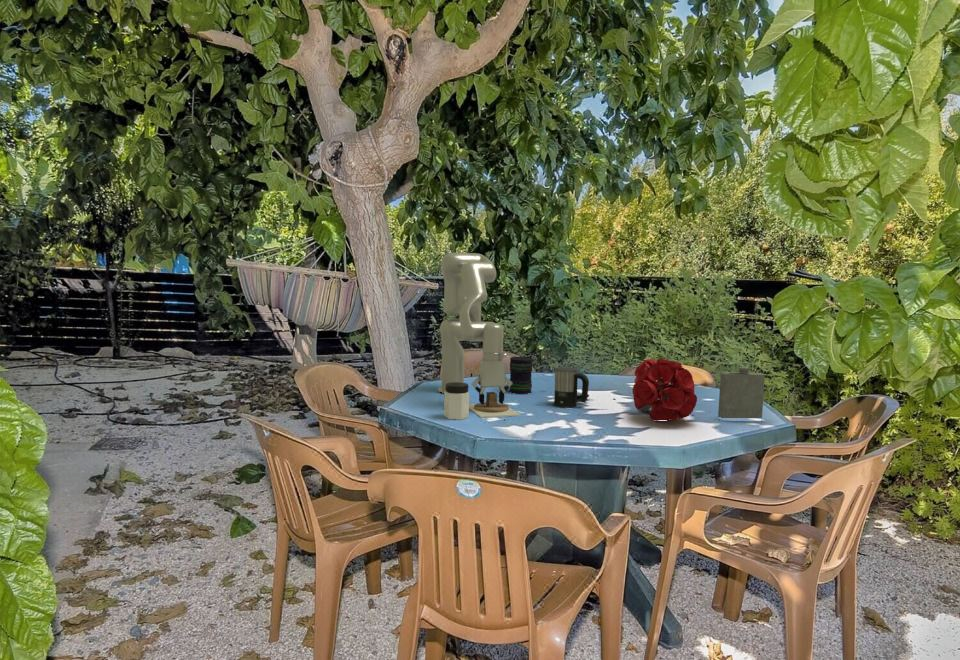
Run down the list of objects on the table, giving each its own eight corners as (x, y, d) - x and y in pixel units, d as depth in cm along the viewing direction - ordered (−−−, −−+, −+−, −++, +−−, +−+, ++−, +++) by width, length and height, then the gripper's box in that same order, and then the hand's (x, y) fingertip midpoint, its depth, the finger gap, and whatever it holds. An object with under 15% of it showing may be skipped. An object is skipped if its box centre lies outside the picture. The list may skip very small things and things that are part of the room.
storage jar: (509, 389, 274) (510, 356, 272) (531, 390, 273) (532, 357, 271) (508, 393, 264) (509, 359, 262) (531, 394, 263) (532, 360, 261)
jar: (441, 415, 224) (441, 382, 222) (461, 413, 227) (462, 381, 226) (450, 421, 215) (451, 387, 214) (471, 419, 219) (472, 385, 218)
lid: (470, 405, 237) (470, 390, 237) (502, 404, 241) (502, 389, 241) (480, 413, 225) (480, 397, 224) (513, 411, 229) (513, 395, 228)
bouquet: (618, 430, 234) (648, 407, 206) (614, 372, 243) (642, 343, 216) (672, 434, 236) (709, 412, 209) (667, 376, 246) (701, 348, 218)
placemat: (465, 405, 240) (465, 404, 239) (502, 404, 244) (502, 402, 244) (480, 418, 221) (480, 416, 220) (520, 416, 225) (520, 414, 225)
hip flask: (759, 419, 228) (763, 366, 226) (764, 422, 224) (768, 368, 222) (716, 419, 228) (719, 365, 225) (720, 421, 223) (724, 367, 221)
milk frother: (552, 407, 241) (553, 369, 239) (554, 399, 256) (555, 363, 255) (589, 409, 238) (590, 371, 237) (588, 400, 254) (590, 365, 252)
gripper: (511, 355, 237) (509, 400, 239) (467, 355, 232) (466, 402, 234) (517, 357, 230) (516, 404, 232) (473, 358, 225) (472, 406, 227)
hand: (491, 403), depth 233 cm, fingers open, 6 cm apart
